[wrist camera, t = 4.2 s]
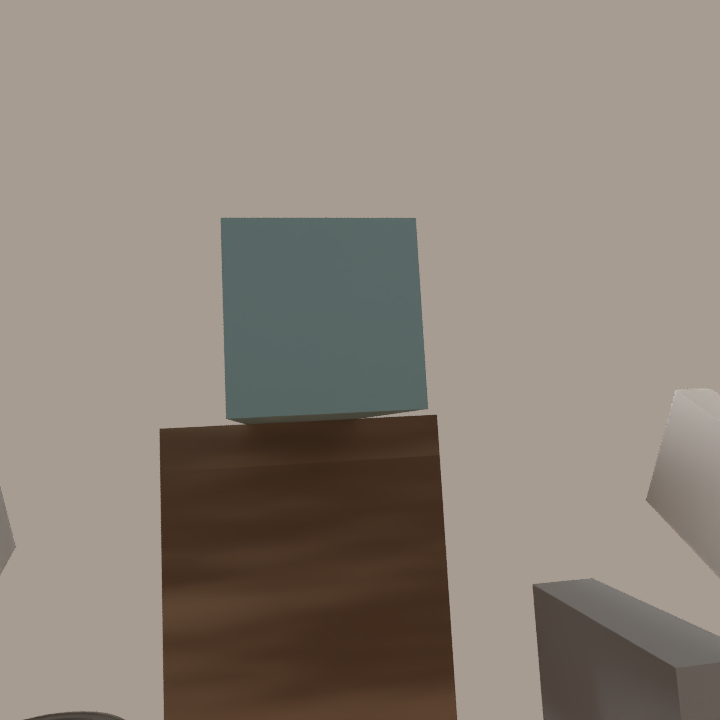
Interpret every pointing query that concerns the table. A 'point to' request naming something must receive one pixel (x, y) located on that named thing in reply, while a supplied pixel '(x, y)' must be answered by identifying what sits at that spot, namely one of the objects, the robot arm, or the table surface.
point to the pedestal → (621, 657)
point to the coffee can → (77, 716)
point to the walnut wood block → (305, 572)
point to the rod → (321, 319)
